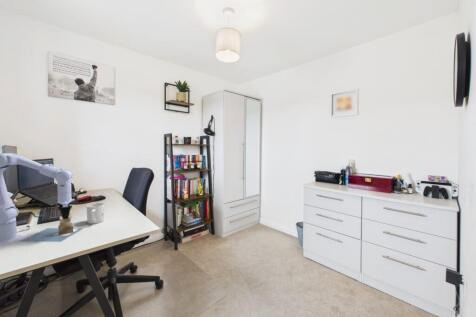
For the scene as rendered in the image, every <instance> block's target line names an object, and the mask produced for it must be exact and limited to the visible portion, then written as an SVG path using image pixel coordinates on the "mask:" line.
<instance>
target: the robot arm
mask: <svg viewBox="0 0 476 317" xmlns="http://www.w3.org/2000/svg"><path fill="white" fill-rule="evenodd" d="M17 165H21V166H24V167H27V168H31V169H33V170H36V171H38V172H39V174H41V175H44V176H45V177H49V178H51V179H55V181H57V205H58V206H57V209H58V210H59V211H60V214H61V217H62V218H63V219H68V217H69V215H70V211H71V210H72V207H73V205H72V202H75V198H72V178H73V172H71V170H69V169H64V168H62V167H61V168H59V167H57V166H54V164H52V163H49V164H48V163H45V164H42V163H39V162H37V161H34V160H33V159H29V158H28V157H25V156H22V155H21V154H18V153H14V152H5V153H4V152H3V153H0V244H5V243H9V242H11V241H13V240H15V239H17V238H19V237H22V236H23V235H22V234H18V233H17V217H18V215H19V214H20V211H19V209H18V208H17V207H16V204H14V203H13V202H12V201H11V200H10V196H9V192H8V189H7V185H6V181H5V178H4V174H3V172H5V171H6V169H8V168H9V167H11V166H17Z"/></svg>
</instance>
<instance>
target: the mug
mask: <svg viewBox="0 0 476 317" xmlns="http://www.w3.org/2000/svg"><path fill="white" fill-rule="evenodd" d="M104 220H105V203H102V202H94V203H90V204H87V205H86V222H87V224H88V225H96V224H100V223H102V222H103V221H104Z"/></svg>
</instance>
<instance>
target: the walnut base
mask: <svg viewBox="0 0 476 317" xmlns="http://www.w3.org/2000/svg"><path fill="white" fill-rule="evenodd" d="M57 228H59V235H64V234H68V233H73V228H74V225H73V222H71V226H70V227H65V228H60V224H59V225H58V227H57Z"/></svg>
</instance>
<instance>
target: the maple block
mask: <svg viewBox="0 0 476 317" xmlns="http://www.w3.org/2000/svg"><path fill="white" fill-rule="evenodd" d="M71 218H72V217H71V215H70V214H69V217H68V219H63V218H62V216H59V225H60V228H65V227H70V226H71V223H72V222H71V220H72V219H71Z"/></svg>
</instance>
